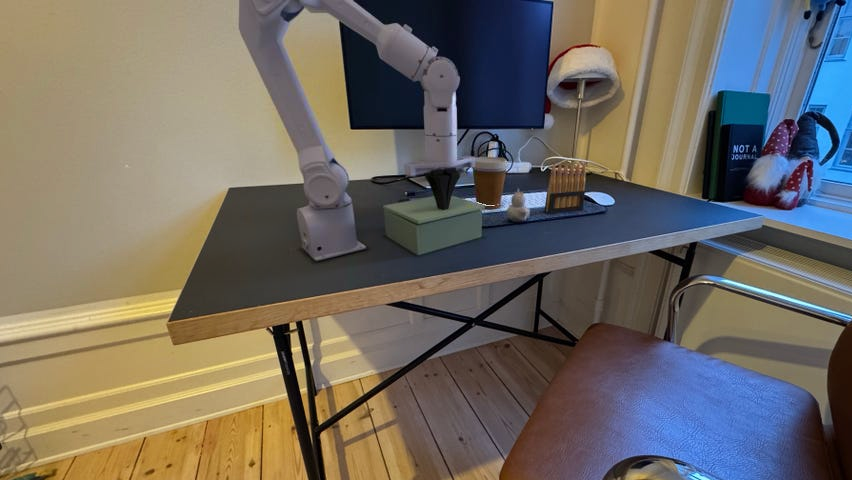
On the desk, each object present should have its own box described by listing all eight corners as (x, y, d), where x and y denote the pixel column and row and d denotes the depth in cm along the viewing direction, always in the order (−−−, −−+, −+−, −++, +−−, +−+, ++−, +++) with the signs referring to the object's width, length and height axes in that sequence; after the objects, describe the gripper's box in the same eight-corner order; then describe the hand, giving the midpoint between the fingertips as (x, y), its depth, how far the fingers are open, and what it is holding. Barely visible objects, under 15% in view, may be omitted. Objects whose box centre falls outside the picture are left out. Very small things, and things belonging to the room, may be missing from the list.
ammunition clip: (547, 213, 93) (552, 165, 87) (544, 211, 94) (548, 163, 89) (583, 209, 96) (590, 163, 91) (578, 207, 98) (585, 161, 92)
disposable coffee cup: (506, 211, 93) (509, 163, 88) (469, 210, 94) (469, 162, 88) (505, 201, 102) (507, 157, 97) (471, 200, 102) (471, 156, 97)
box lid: (485, 208, 74) (484, 205, 74) (418, 224, 65) (418, 220, 64) (446, 196, 83) (446, 193, 83) (383, 209, 74) (382, 205, 74)
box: (481, 237, 77) (482, 210, 75) (418, 255, 68) (416, 226, 66) (446, 221, 86) (446, 197, 83) (386, 236, 77) (383, 209, 74)
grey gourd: (521, 216, 90) (524, 184, 87) (534, 225, 85) (537, 190, 81) (501, 218, 88) (503, 185, 85) (513, 227, 83) (515, 192, 79)
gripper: (459, 130, 72) (459, 198, 78) (393, 134, 64) (399, 210, 70) (482, 134, 68) (481, 205, 74) (414, 139, 59) (419, 219, 65)
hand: (442, 208), depth 71 cm, fingers closed, pressing on box lid
